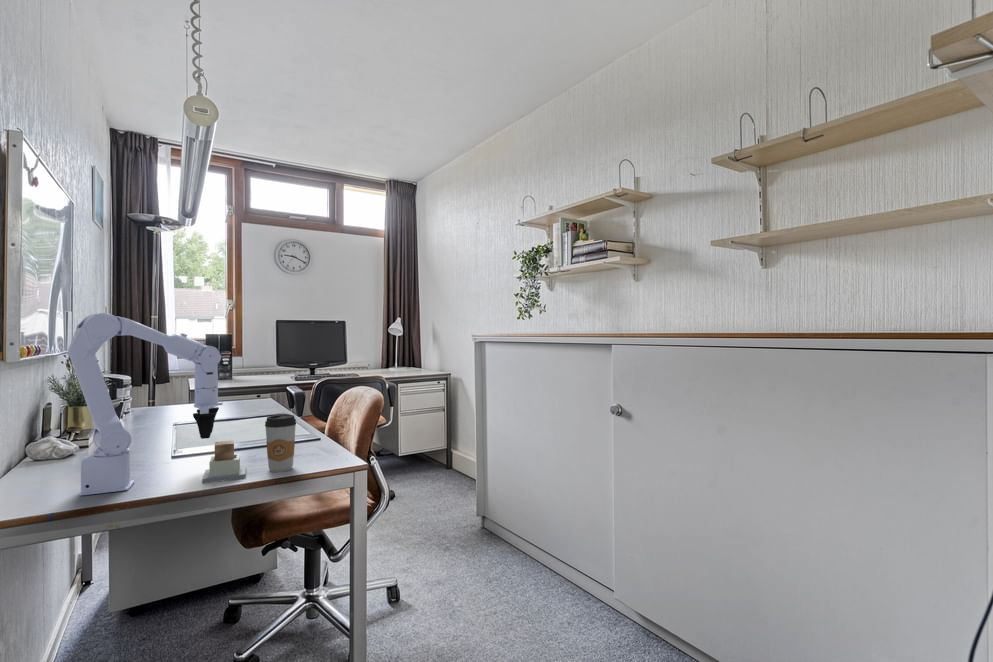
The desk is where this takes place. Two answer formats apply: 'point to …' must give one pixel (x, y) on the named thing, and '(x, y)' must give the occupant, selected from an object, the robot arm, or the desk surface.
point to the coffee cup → (280, 442)
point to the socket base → (225, 477)
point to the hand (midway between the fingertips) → (206, 435)
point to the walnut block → (224, 450)
